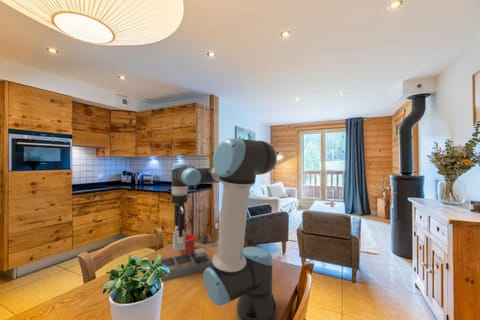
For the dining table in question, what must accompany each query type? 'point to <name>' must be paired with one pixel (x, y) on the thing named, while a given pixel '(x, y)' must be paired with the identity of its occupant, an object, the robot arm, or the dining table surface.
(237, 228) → the robot arm
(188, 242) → the flower pot
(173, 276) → the grey compartment tray
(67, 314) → the dining table surface
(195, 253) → the seated nut
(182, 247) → the block
